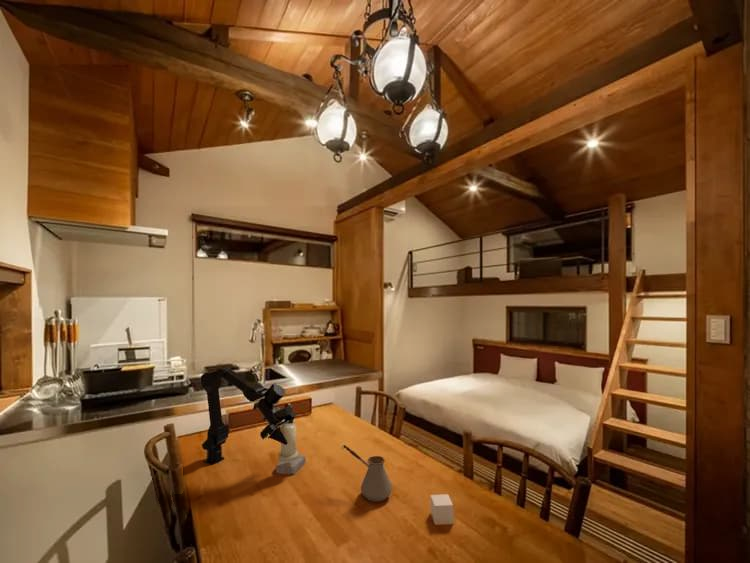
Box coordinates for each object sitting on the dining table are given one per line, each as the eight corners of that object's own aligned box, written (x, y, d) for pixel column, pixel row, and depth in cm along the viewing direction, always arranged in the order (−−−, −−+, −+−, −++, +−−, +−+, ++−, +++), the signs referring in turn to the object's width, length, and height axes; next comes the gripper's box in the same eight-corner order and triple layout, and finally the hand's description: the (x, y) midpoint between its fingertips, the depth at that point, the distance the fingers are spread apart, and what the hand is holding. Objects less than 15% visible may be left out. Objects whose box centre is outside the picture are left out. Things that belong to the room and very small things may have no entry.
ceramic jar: (274, 459, 138) (274, 428, 139) (285, 451, 146) (285, 421, 146) (291, 462, 135) (291, 430, 136) (301, 454, 143) (302, 423, 144)
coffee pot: (397, 492, 126) (397, 451, 127) (381, 509, 117) (381, 464, 117) (351, 477, 138) (351, 439, 138) (333, 490, 128) (333, 450, 129)
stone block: (274, 478, 141) (296, 475, 139) (272, 466, 142) (294, 463, 140) (287, 465, 152) (307, 462, 151) (285, 454, 153) (305, 451, 151)
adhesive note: (430, 513, 114) (430, 494, 115) (448, 512, 115) (447, 494, 115) (435, 525, 108) (434, 505, 109) (453, 524, 109) (453, 504, 109)
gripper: (266, 405, 134) (290, 437, 130) (293, 392, 152) (314, 420, 148) (250, 423, 136) (272, 455, 132) (277, 408, 154) (298, 437, 150)
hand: (291, 441), depth 140 cm, fingers closed on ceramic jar, 6 cm apart
